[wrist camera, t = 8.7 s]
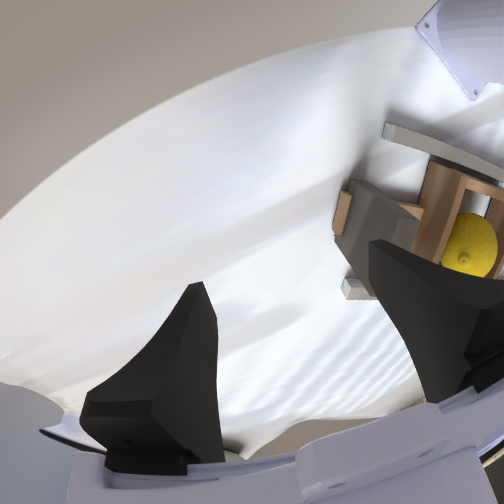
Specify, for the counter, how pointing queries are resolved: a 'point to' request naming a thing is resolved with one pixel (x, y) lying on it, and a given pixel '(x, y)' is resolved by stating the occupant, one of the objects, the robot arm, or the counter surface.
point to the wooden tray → (411, 218)
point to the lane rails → (415, 140)
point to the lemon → (470, 246)
